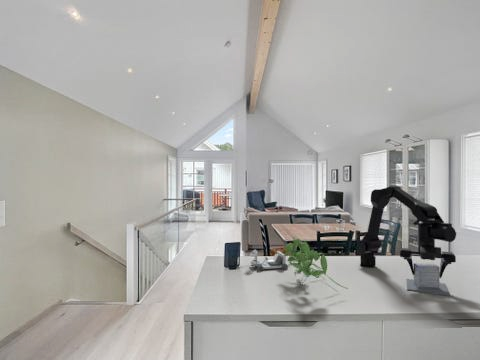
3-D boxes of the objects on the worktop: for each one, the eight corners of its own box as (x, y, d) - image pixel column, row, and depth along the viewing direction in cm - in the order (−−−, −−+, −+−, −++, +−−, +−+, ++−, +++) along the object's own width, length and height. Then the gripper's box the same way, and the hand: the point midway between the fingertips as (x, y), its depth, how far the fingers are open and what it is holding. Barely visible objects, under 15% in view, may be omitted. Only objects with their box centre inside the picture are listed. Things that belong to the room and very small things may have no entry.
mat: (407, 290, 119) (407, 288, 119) (406, 279, 131) (406, 278, 131) (450, 296, 112) (450, 294, 112) (445, 284, 125) (445, 283, 125)
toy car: (252, 251, 145) (246, 246, 156) (252, 272, 145) (246, 265, 156) (288, 249, 149) (280, 245, 160) (288, 270, 148) (280, 263, 160)
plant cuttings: (308, 288, 141) (270, 259, 140) (329, 258, 142) (292, 230, 141) (336, 323, 106) (286, 285, 105) (365, 283, 107) (315, 245, 106)
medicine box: (434, 284, 124) (433, 263, 124) (440, 288, 119) (439, 266, 119) (413, 284, 125) (413, 262, 125) (418, 287, 120) (418, 265, 120)
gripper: (400, 238, 119) (400, 278, 119) (458, 243, 111) (458, 286, 111) (399, 234, 129) (400, 271, 129) (453, 237, 121) (453, 277, 120)
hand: (426, 276), depth 122 cm, fingers open, 9 cm apart
